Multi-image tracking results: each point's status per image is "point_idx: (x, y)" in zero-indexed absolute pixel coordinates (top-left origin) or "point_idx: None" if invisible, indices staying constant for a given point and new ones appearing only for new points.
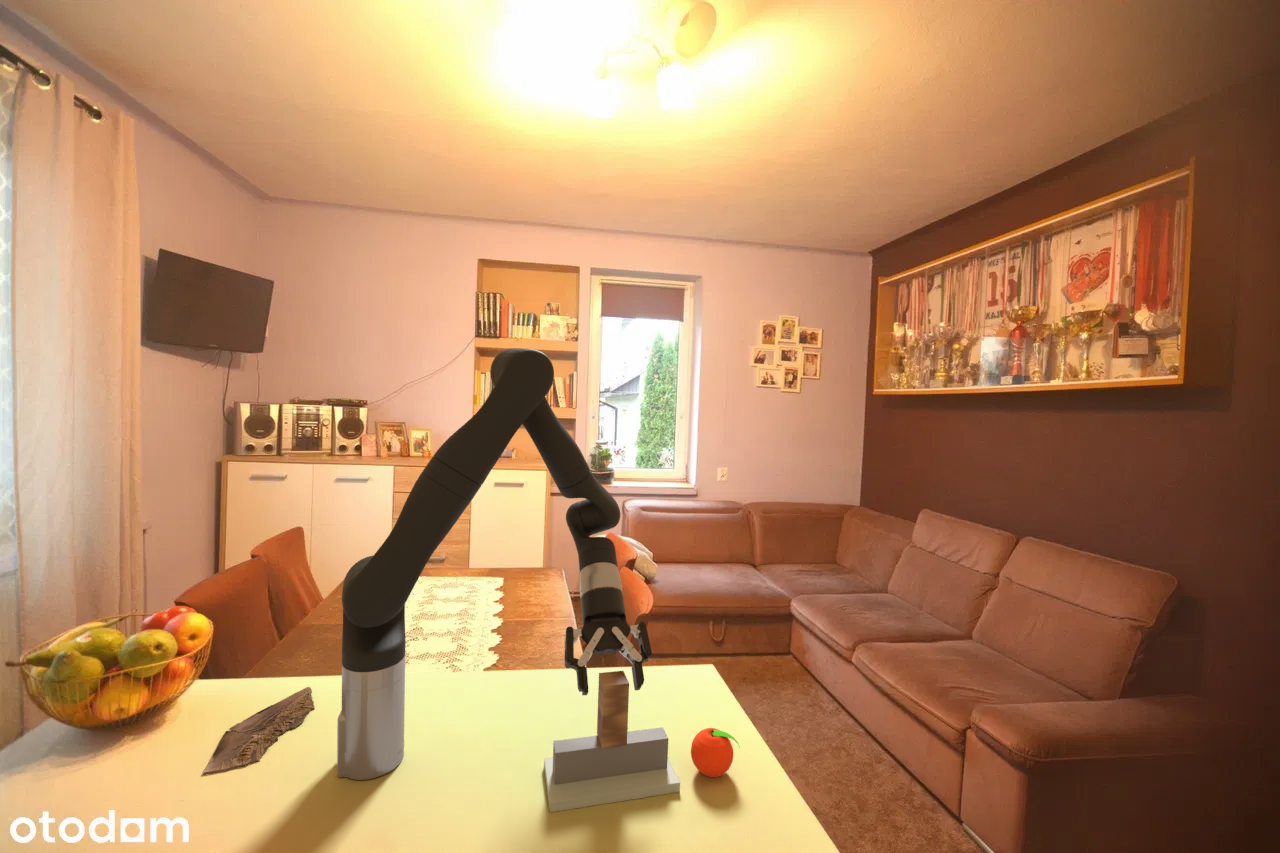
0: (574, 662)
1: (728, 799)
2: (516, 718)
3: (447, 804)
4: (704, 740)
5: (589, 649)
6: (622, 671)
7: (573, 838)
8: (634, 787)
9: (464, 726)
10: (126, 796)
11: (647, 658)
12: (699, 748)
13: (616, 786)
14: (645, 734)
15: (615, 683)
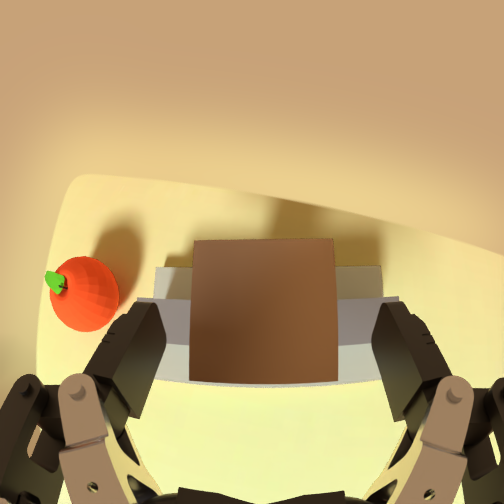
0: (477, 401)
1: (108, 242)
2: None
3: (484, 306)
4: (81, 278)
5: (442, 462)
6: (195, 373)
7: (342, 216)
8: None
9: None
10: None
11: (46, 385)
12: (97, 277)
13: None
14: (180, 325)
15: (266, 251)
